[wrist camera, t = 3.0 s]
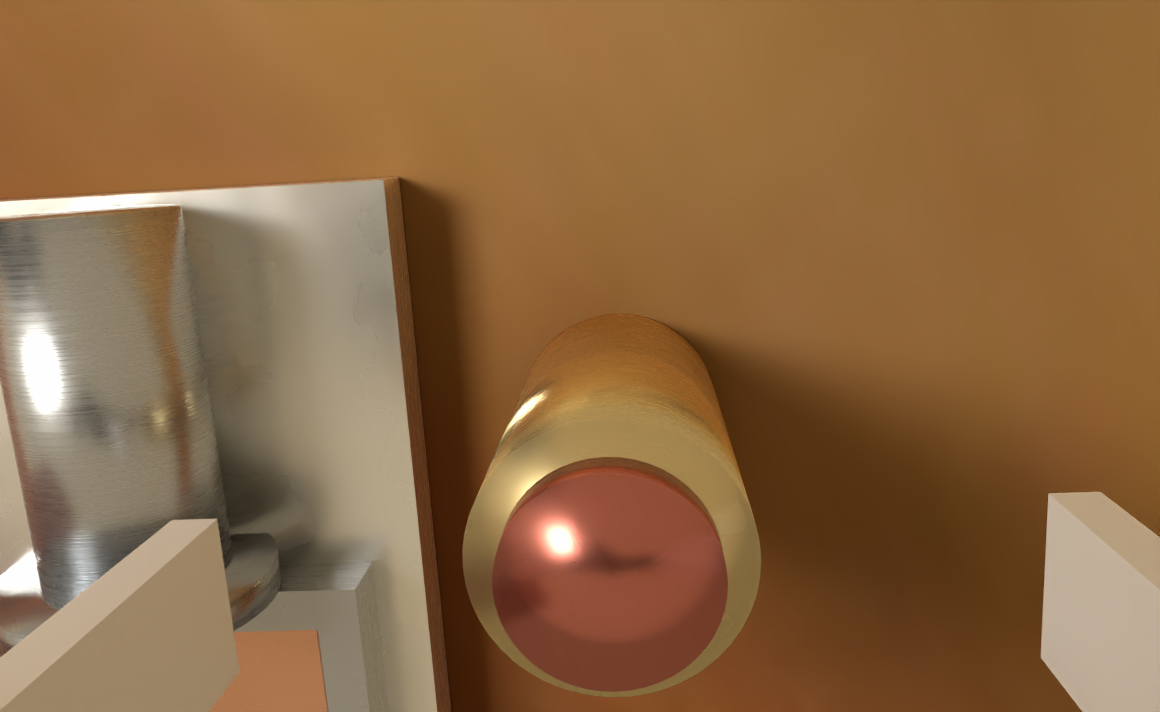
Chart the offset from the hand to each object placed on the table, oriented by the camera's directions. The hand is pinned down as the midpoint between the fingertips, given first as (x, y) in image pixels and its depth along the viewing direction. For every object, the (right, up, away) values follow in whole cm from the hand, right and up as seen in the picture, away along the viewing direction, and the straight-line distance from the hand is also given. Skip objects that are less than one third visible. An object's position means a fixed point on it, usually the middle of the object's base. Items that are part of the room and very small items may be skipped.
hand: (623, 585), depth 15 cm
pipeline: (-10, -6, +11) cm, 16 cm away
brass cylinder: (0, +2, +9) cm, 9 cm away
